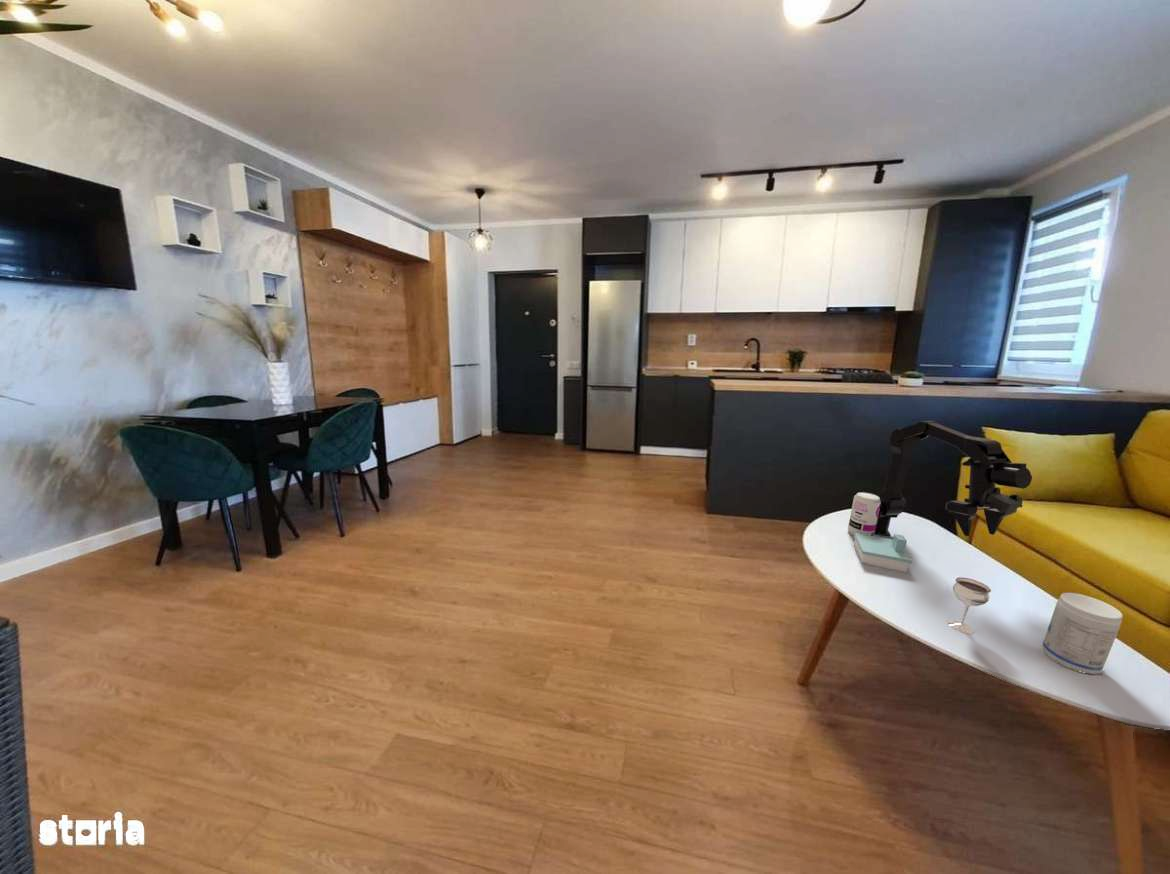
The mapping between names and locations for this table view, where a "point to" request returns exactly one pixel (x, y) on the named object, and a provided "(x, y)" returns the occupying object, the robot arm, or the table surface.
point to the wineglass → (969, 599)
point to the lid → (883, 547)
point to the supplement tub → (1081, 632)
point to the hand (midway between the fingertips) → (979, 535)
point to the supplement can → (864, 514)
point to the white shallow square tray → (880, 561)
